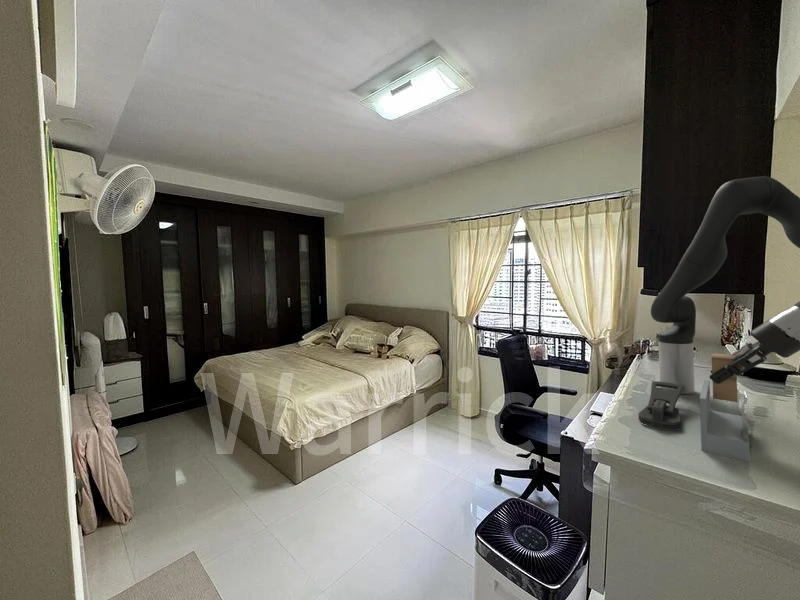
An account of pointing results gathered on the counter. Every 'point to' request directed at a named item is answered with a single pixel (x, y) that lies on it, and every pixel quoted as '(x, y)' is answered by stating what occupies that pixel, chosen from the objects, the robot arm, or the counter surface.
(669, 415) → the zipper pull
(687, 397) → the counter surface
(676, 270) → the robot arm
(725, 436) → the board
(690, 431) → the counter surface
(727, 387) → the cabinet
